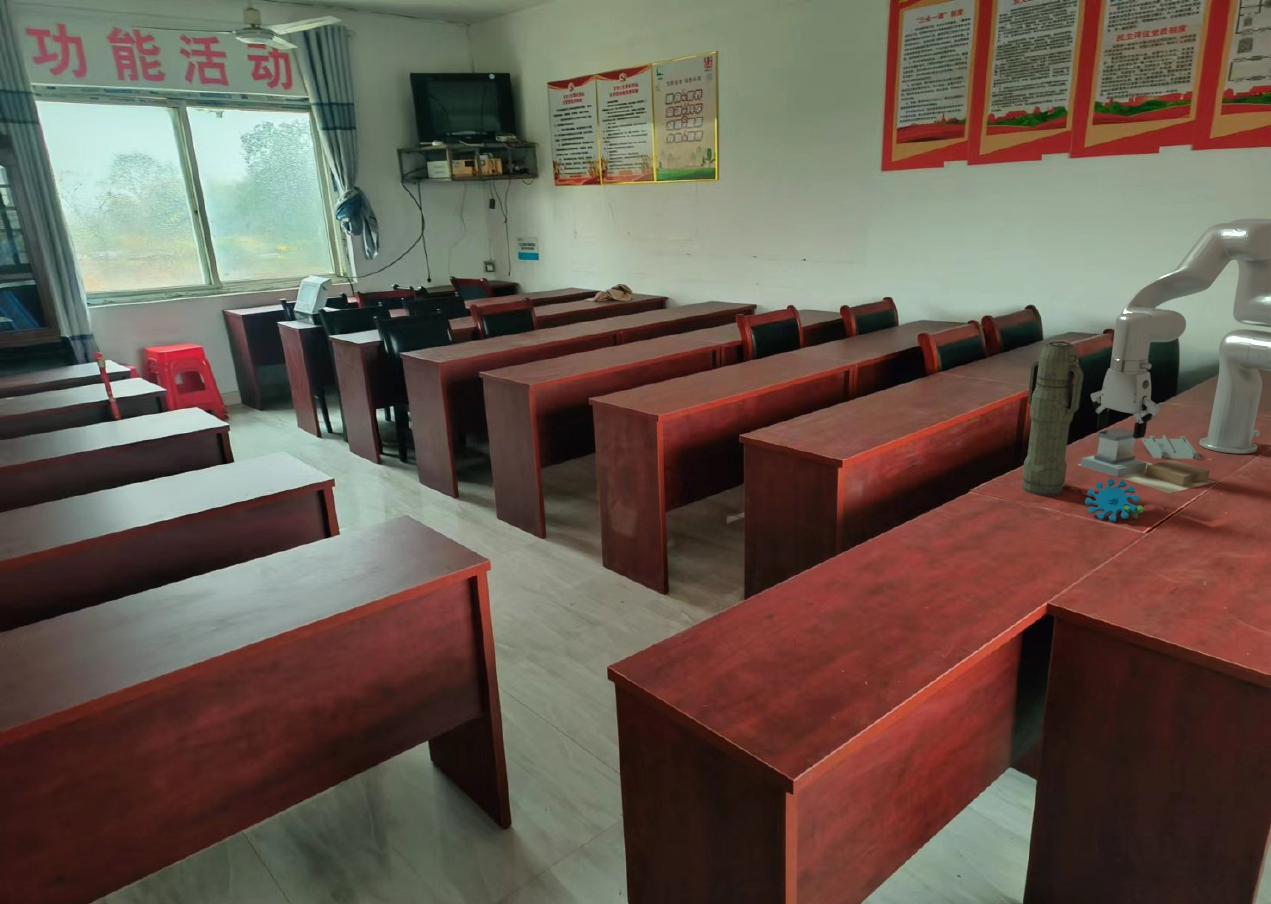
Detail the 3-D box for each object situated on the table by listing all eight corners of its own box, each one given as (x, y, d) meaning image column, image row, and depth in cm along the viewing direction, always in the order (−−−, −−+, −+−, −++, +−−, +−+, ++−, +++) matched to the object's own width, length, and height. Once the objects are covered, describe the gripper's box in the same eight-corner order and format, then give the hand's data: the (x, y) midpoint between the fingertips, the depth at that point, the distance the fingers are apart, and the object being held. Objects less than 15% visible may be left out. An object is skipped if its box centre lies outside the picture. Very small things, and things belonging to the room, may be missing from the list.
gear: (1075, 506, 174) (1100, 470, 175) (1079, 518, 178) (1104, 483, 179) (1127, 528, 166) (1153, 490, 167) (1131, 540, 170) (1156, 503, 171)
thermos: (1057, 500, 182) (1076, 349, 172) (1008, 487, 191) (1024, 343, 181) (1077, 491, 187) (1097, 344, 176) (1028, 479, 196) (1045, 338, 186)
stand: (1170, 469, 196) (1172, 460, 195) (1207, 480, 188) (1209, 470, 187) (1145, 475, 193) (1147, 465, 192) (1182, 486, 185) (1184, 476, 184)
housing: (1116, 454, 202) (1120, 427, 200) (1134, 459, 197) (1139, 432, 195) (1093, 459, 199) (1097, 432, 197) (1112, 464, 195) (1116, 437, 192)
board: (1120, 458, 208) (1121, 454, 208) (1214, 485, 187) (1215, 481, 187) (1076, 468, 203) (1077, 464, 202) (1169, 497, 181) (1169, 493, 181)
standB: (1108, 459, 205) (1109, 451, 204) (1145, 470, 196) (1146, 461, 196) (1080, 465, 201) (1081, 457, 201) (1117, 476, 193) (1118, 468, 192)
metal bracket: (1133, 431, 213) (1195, 431, 210) (1128, 449, 216) (1189, 449, 213) (1153, 461, 201) (1219, 462, 198) (1147, 479, 204) (1212, 481, 202)
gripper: (1174, 368, 185) (1164, 438, 190) (1106, 357, 200) (1099, 422, 205) (1152, 373, 182) (1142, 444, 187) (1085, 361, 197) (1078, 427, 203)
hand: (1120, 432), depth 196 cm, fingers open, 9 cm apart
